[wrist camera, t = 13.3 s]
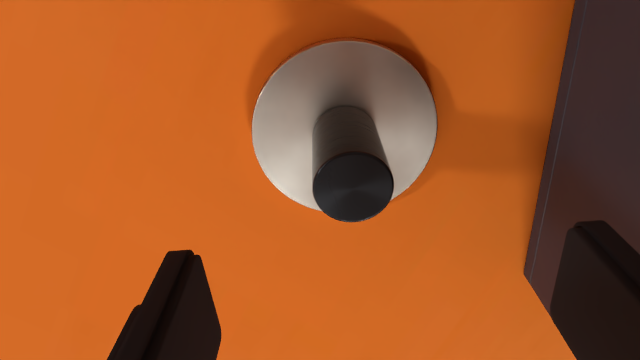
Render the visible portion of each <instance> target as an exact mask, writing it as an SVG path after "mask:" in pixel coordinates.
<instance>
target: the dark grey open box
mask: <svg viewBox="0 0 640 360" xmlns="http://www.w3.org/2000/svg"><path fill="white" fill-rule="evenodd" d="M595 220H603V221H605V222H606V223H608V224H609V225H610V226H611V227H612V228H613V229H614V230H615V231H616V232H617V233H618V234H619V235H620V236H621V237H622V238H623V239H624V240H625V241H626V242H627V243H628V244H629V245H630V246H632V247H633V248H634V249H635V250H636V251H637V252H638V253H639V254H640V0H575V5H574V10H573V15H572V20H571V26H570V31H569V36H568V42H567V47H566V52H565V57H564V63H563V68H562V73H561V78H560V84H559V89H558V94H557V100H556V105H555V110H554V115H553V121H552V126H551V131H550V137H549V142H548V147H547V152H546V158H545V163H544V168H543V174H542V179H541V184H540V189H539V195H538V200H537V205H536V211H535V216H534V221H533V226H532V232H531V237H530V242H529V247H528V253H527V258H526V263H525V269H524V275H525V277H526V279H527V280H528V282H529V283H530V285H531V286H532V288H533V289H534V291H535V293H536V294H537V296H538V297H539V299H540V300H541V302H542V304H543V305H544V307H545V308H546V310H547V312H548V313H549V315H550V316H551V314H550V304H551V299H552V295H553V290H554V286H555V282H556V277H557V273H558V269H559V264H560V260H561V255H562V251H563V247H564V242H565V238H566V234H567V231H568V229H570V228H573V226H574V225H575V223H577V222H581V221H595Z"/></svg>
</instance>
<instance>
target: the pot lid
mask: <svg viewBox="0 0 640 360" xmlns="http://www.w3.org/2000/svg"><path fill="white" fill-rule="evenodd" d="M436 135H437V112H436V106H435V103H434V99H433V96H432V93H431V91H430V89H429V87H428V85H427V83H426V82H425V80H424V79H423V78H422V76H421V75H420V73H419V72H418V71H417V70H416V69H415V67H414V66H413V65H412V64H411V63H410V62H409V61H408V60H406V59H405V58H404V57H403V56H401V55H400V54H399V53H397V52H395V51H394V50H392V49H390V48H389V47H386V46H384V45H381V44H379V43H376V42H372V41H368V40H364V39H356V38H336V39H330V40H324V41H321V42H318V43H314V44H311V45H309V46H307V47H305V48H303V49H301V50H299V51H297V52H296V53H294V54H293V55H291V56H289V57H288V58H287V59H286V60H285V61H283V62H282V63H281V64H280V65H279V66H278V67H277V68H276V69H275V70H274V71H273V73H272V74H271V75H270V76H269V78H268V79H267V81H266V82H265V84H264V86H263V88H262V90H261V92H260V94H259V96H258V99H257V102H256V105H255V109H254V113H253V119H252V141H253V146H254V150H255V154H256V157H257V159H258V162H259V164H260V166H261V168H262V170H263V171H264V173H265V175H266V176H267V177H268V178H269V180H270V181H271V182H272V183H273V184H274V185H275V186H276V187H277V188H278V189H279V190H280V191H281V192H282V193H283V194H285V195H286V196H287V197H289V198H291V199H292V200H294V201H296V202H297V203H299V204H302V205H304V206H306V207H309V208H312V209H315V210H319V211H323V212H324V213H325V214H327V215H328V216H330V217H331V218H334V219H336V220H339V221H344V222H359V221H364V220H367V219H370V218H372V217H374V216H376V215H377V214H379V213H380V212H381V211H382V210H383V209H384V208H385V207H386V206H387V204H388V203H389V201H390V200H392V199H393V198H395V197H396V196H398V195H399V194H401V193H402V192H403V191H405V190H406V189H407V188H408V187H409V186H410V185H411V184H412V183H413V182H414V181H415V180H416V179H417V178H418V176H419V175H420V174H421V172H422V171H423V170H424V168H425V166H426V164H427V163H428V161H429V159H430V156H431V154H432V151H433V149H434V145H435V141H436Z"/></svg>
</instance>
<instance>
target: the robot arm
mask: <svg viewBox="0 0 640 360" xmlns="http://www.w3.org/2000/svg"><path fill="white" fill-rule="evenodd" d="M550 314H551V318H552V320H553V322H554V324H555V325H556V327H557V328H558V330H559V332H560V333H561V335H562V336H563V338H564V340H565V341H566V343H567V345H568V346H569V348H570V349H571V351H572V353H573V354H574V356H575V357H576V359H577V360H640V254H639V253H638V252H637V251H636V250H635V249H634V248H633V247H632V246H630V245H629V244H628V243H627V242H626V241H625V240H624V239H623V238H622V237H621V236H620V235H619V234H618V233H617V232H616V231H615V230H614V229H613V228H612V227H611V226H610V225H609V224H608V223H606V222H605V221H603V220H595V221H581V222H577V223H575V225H574V226H573V228H570V229H568V231H567V234H566V238H565V242H564V247H563V251H562V255H561V260H560V264H559V269H558V273H557V277H556V282H555V286H554V290H553V295H552V299H551V304H550ZM220 342H221V327H220V324H219V320H218V316H217V313H216V309H215V306H214V302H213V299H212V295H211V292H210V288H209V284H208V281H207V277H206V274H205V270H204V267H203V263H202V260H201V257H200V256H199V255H194V253H193V252H192V250H180V251H169V252H168V253H167V254H166V256H165V258H164V260H163V262H162V264H161V266H160V268H159V270H158V272H157V274H156V276H155V278H154V280H153V282H152V284H151V286H150V288H149V290H148V292H147V294H146V296H145V298H144V300H143V302H142V304H141V305H137V306H136V307H135V308H134V309H133V311H132V312H131V314H130V316H129V318H128V320H127V322H126V323H125V325H124V327H123V329H122V331H121V333H120V335H119V337H118V339H117V341H116V343H115V345H114V347H113V349H112V351H111V353H110V355H109V357H108V359H107V360H216V358H217V354H218V350H219V346H220Z"/></svg>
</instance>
